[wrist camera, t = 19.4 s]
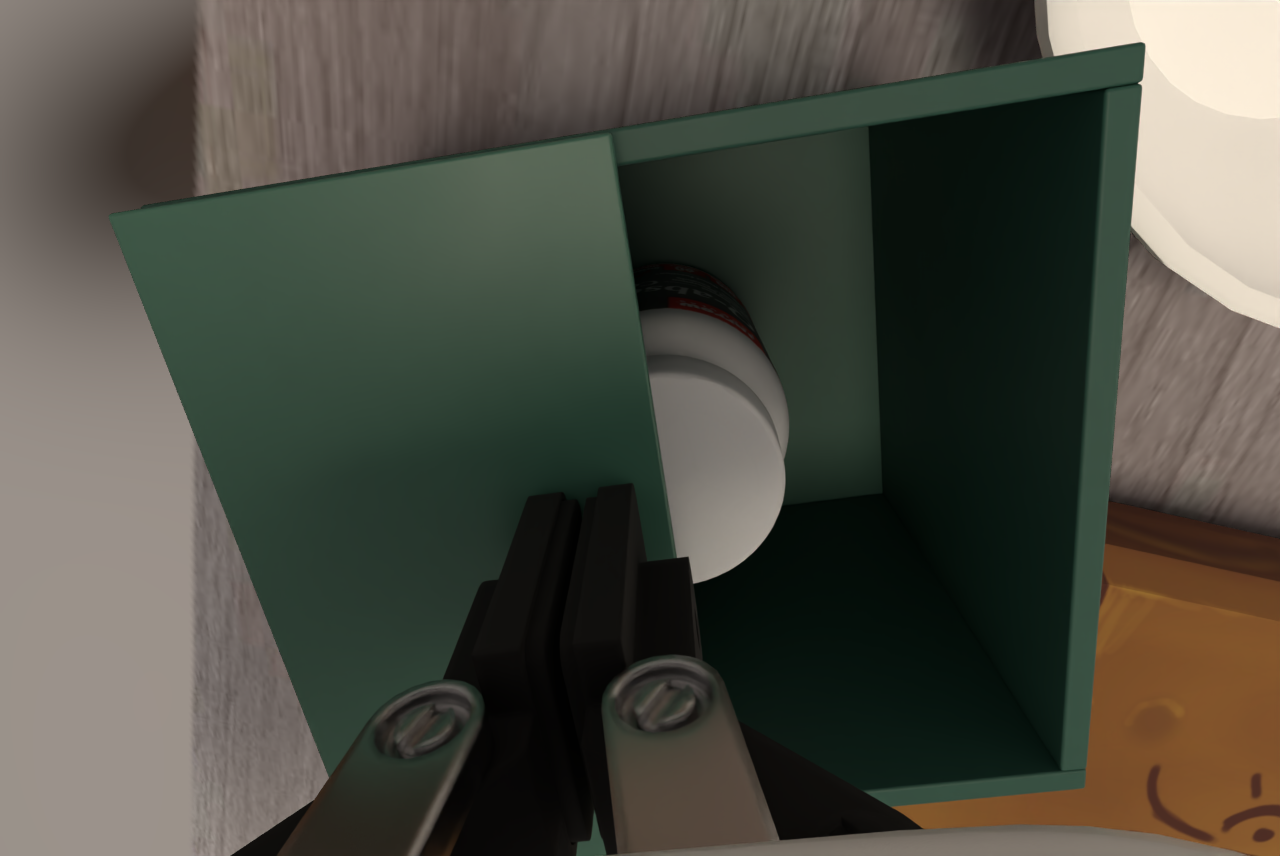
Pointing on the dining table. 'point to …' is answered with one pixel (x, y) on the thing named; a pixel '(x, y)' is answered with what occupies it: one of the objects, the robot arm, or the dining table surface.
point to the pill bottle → (712, 416)
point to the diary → (1172, 694)
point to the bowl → (1198, 134)
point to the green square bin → (916, 406)
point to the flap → (402, 393)
